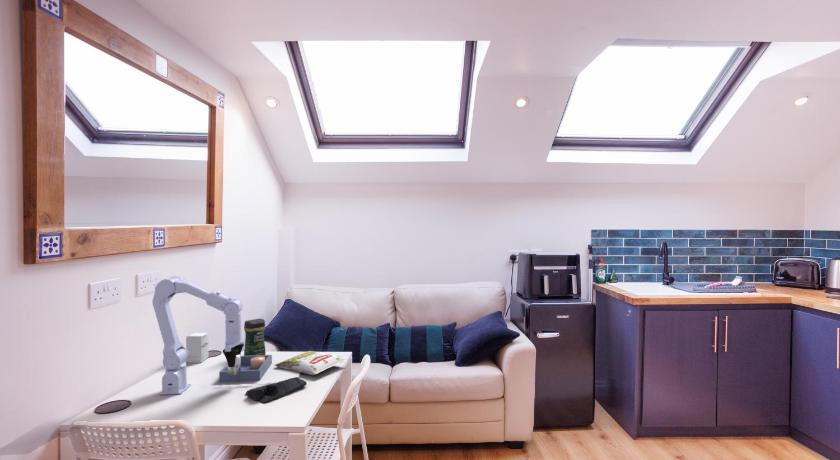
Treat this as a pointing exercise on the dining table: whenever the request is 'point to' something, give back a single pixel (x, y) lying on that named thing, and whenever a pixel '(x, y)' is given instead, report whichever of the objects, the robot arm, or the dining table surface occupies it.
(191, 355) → the supplement box
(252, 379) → the slate blue tote
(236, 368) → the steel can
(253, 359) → the peach round blob
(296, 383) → the dark slate chunk
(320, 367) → the frozen beans
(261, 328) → the coffee jar
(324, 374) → the dining table surface
